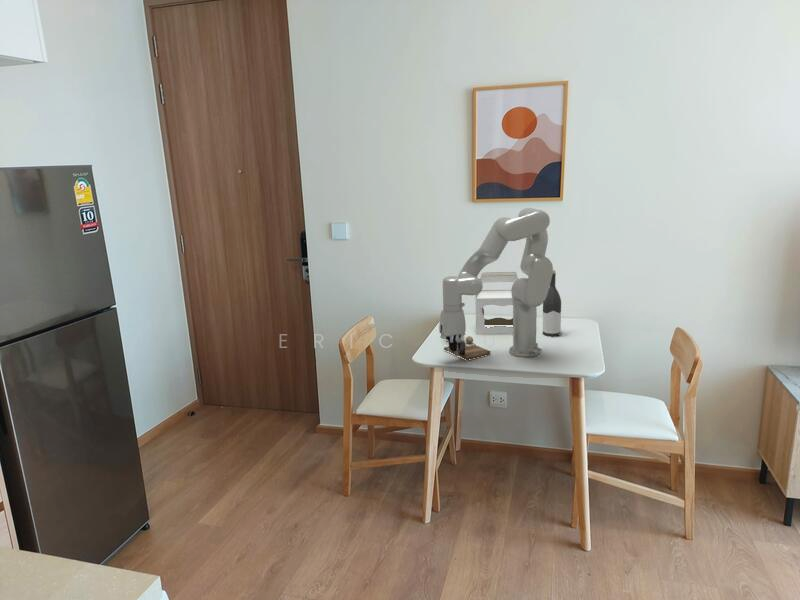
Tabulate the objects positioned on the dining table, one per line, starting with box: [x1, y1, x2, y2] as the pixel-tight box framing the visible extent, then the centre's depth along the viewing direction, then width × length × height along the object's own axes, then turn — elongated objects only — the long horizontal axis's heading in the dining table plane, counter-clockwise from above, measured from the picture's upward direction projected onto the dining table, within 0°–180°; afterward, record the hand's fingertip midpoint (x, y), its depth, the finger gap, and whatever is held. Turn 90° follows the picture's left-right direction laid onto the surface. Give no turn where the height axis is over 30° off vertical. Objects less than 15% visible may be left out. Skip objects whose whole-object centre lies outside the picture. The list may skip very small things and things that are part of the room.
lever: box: [457, 337, 466, 355], centre depth 238 cm, size 15×4×5 cm, turn 2°
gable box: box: [474, 271, 519, 335], centre depth 266 cm, size 22×13×28 cm, turn 83°
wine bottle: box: [542, 269, 562, 338], centre depth 256 cm, size 8×8×30 cm
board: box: [443, 335, 491, 361], centre depth 240 cm, size 16×12×6 cm
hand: (453, 350), depth 231 cm, fingers closed
